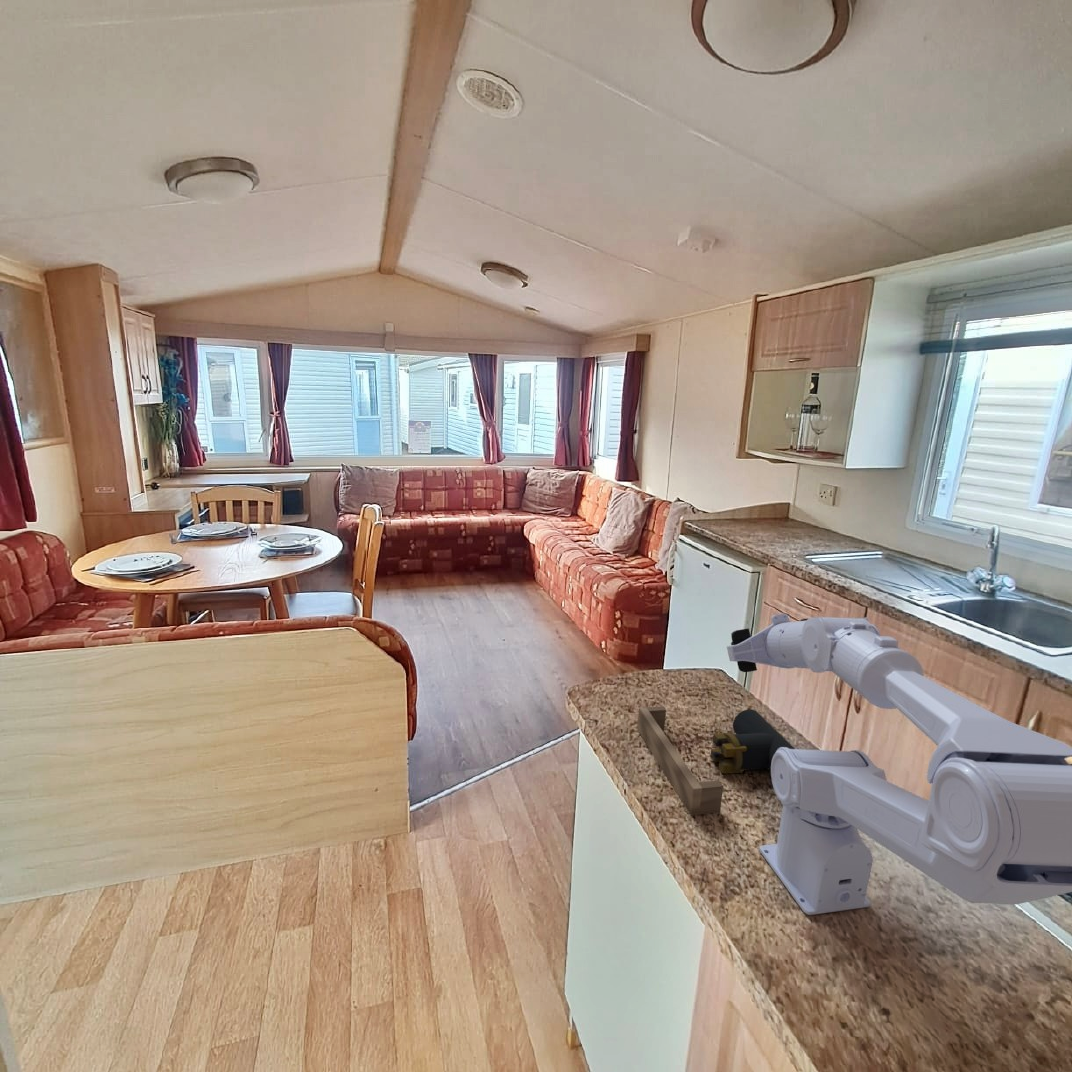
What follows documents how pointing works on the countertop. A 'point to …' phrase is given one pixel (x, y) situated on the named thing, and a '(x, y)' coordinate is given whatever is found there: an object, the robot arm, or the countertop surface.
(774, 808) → the countertop surface
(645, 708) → the stop rail
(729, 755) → the pipe connector
